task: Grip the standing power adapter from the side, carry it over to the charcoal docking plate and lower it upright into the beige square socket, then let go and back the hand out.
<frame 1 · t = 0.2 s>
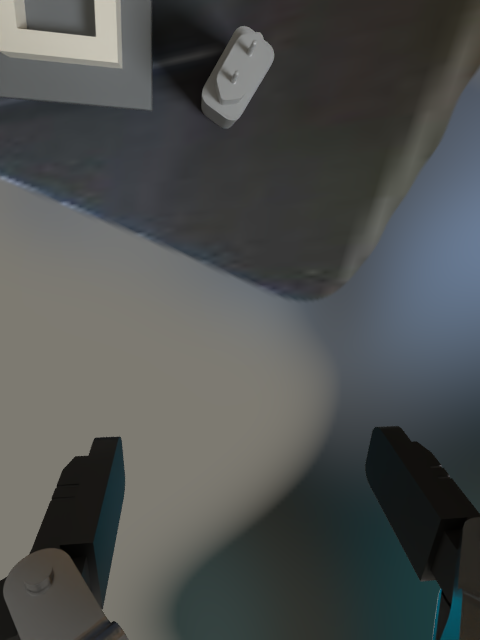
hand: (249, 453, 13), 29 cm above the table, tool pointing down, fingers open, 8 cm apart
power adapter: (230, 92, 34), on the table
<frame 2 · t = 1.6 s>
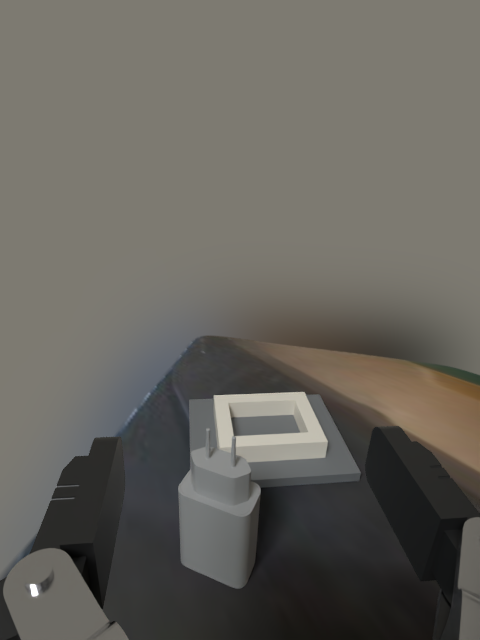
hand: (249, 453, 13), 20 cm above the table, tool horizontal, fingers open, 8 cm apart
power adapter: (217, 560, 31), on the table
docking plate: (264, 439, 43), on the table
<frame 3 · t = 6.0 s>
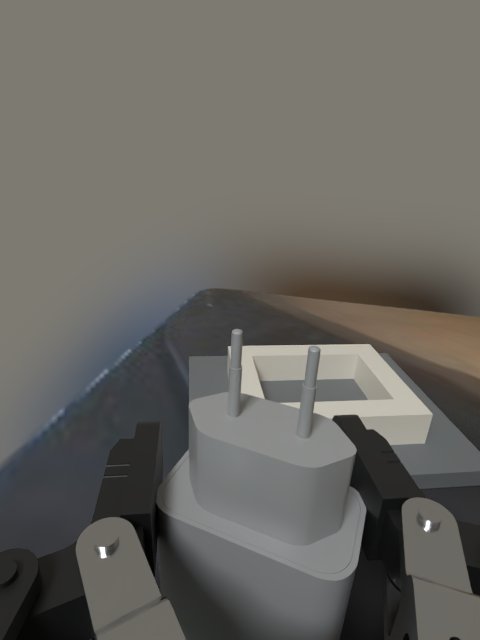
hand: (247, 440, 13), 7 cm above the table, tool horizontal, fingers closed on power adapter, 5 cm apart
docking plate: (311, 415, 26), on the table
when the fingers open (9 cm above the table, at t = 11.4 s): power adapter stays where it is, resting on docking plate.
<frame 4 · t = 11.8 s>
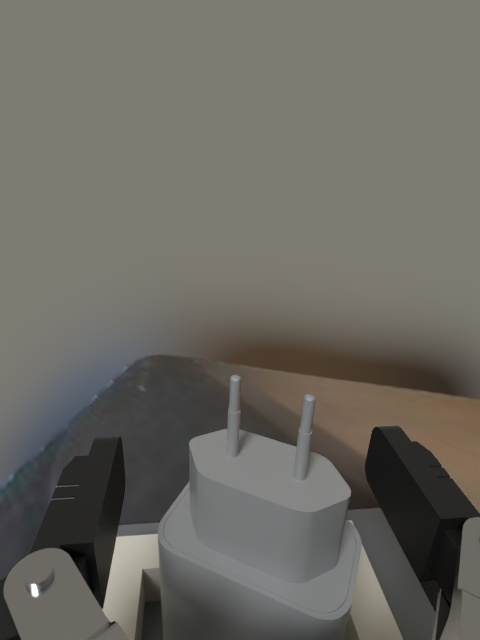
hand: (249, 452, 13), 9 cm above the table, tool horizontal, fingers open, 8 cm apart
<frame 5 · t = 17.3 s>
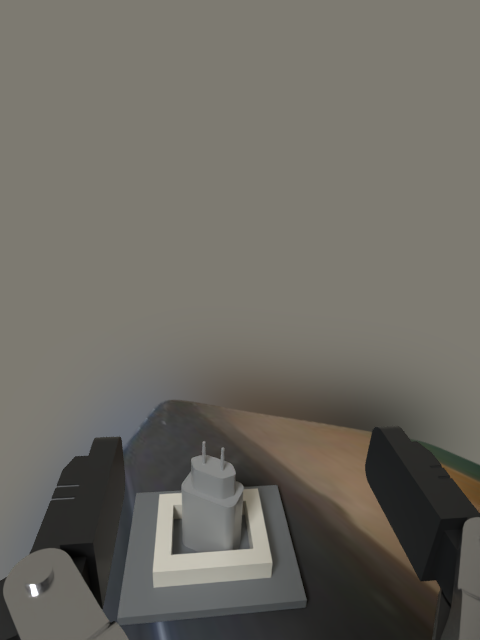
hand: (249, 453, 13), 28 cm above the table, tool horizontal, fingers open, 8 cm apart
power adapter: (211, 542, 40), point 1 cm above the table, touching docking plate
docking plate: (210, 547, 40), on the table
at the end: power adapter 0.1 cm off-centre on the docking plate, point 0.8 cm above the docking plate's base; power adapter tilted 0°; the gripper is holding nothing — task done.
